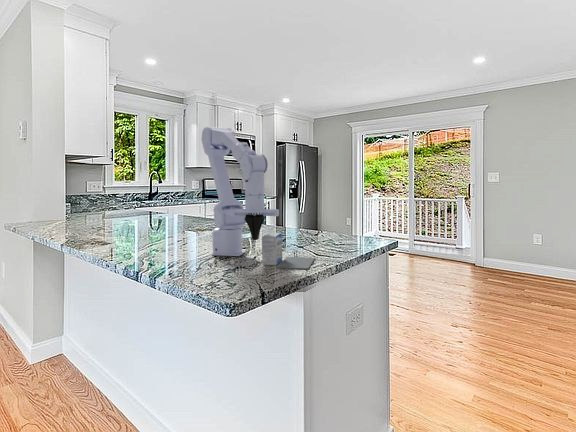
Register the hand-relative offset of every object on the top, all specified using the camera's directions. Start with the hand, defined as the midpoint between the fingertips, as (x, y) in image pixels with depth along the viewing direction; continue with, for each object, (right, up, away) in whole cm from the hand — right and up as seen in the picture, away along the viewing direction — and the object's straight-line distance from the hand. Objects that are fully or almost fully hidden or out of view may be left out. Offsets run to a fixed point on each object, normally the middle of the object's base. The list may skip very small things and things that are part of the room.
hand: (255, 239), depth 112 cm
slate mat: (+13, -7, -2) cm, 15 cm away
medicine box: (+5, -7, 0) cm, 9 cm away
